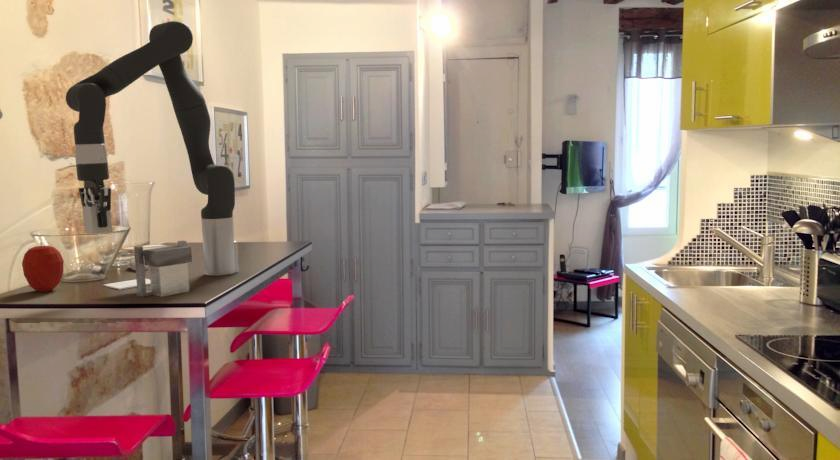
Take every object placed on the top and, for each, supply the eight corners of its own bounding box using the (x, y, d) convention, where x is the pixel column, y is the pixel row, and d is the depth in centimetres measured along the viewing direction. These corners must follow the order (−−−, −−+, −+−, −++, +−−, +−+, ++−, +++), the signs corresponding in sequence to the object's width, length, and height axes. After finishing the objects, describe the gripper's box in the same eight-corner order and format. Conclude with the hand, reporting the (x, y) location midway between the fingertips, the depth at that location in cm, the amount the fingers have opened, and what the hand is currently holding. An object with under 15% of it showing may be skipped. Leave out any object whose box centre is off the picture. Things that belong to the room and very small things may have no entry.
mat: (143, 279, 208) (143, 278, 208) (160, 283, 201) (160, 281, 201) (103, 285, 199) (103, 284, 199) (119, 289, 193) (119, 288, 193)
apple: (74, 288, 197) (70, 239, 195) (43, 295, 188) (39, 243, 186) (46, 286, 201) (42, 238, 199) (15, 293, 191) (10, 243, 190)
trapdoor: (193, 261, 187) (192, 246, 187) (155, 267, 179) (154, 251, 179) (158, 256, 199) (157, 242, 199) (121, 261, 192) (120, 246, 191)
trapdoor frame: (199, 289, 190) (196, 242, 188) (150, 298, 179) (146, 248, 178) (184, 286, 195) (181, 240, 193) (136, 295, 184) (132, 246, 183)
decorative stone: (131, 273, 220) (130, 263, 220) (128, 267, 234) (127, 257, 234) (151, 272, 223) (151, 261, 223) (147, 265, 237) (146, 255, 237)
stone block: (103, 230, 188) (101, 204, 187) (112, 231, 185) (109, 205, 184) (84, 232, 184) (82, 206, 183) (93, 233, 181) (90, 207, 180)
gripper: (118, 161, 180) (124, 226, 182) (94, 161, 190) (100, 223, 192) (89, 162, 175) (95, 230, 177) (65, 162, 184) (72, 227, 186)
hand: (98, 226), depth 184 cm, fingers closed on stone block, 5 cm apart
